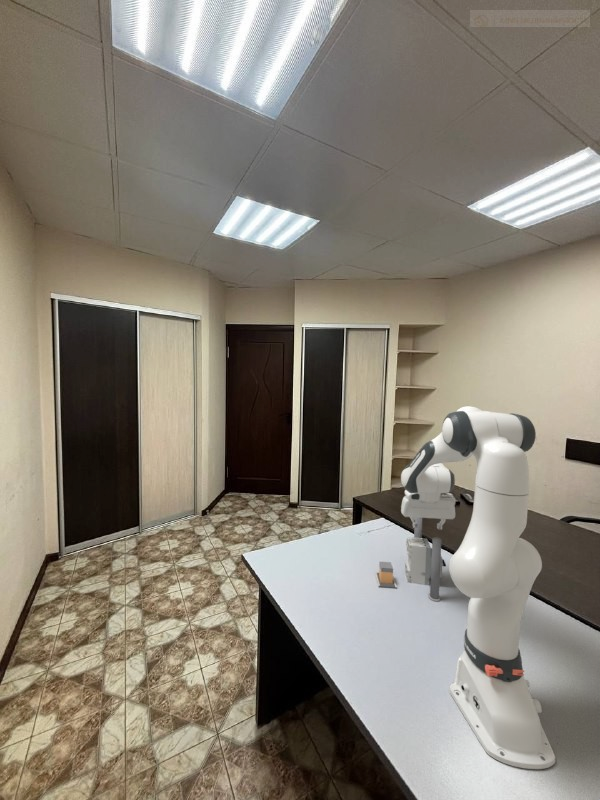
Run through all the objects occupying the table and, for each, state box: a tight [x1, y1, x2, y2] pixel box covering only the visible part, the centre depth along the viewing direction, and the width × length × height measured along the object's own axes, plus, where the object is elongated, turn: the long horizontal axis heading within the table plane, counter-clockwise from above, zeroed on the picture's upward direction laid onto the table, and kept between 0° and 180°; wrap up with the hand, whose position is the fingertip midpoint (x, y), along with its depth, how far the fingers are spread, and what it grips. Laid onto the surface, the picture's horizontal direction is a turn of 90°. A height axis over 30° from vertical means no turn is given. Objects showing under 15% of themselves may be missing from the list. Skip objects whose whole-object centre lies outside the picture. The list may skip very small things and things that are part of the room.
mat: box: [374, 572, 398, 590], centre depth 128 cm, size 9×7×1 cm
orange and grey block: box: [378, 561, 394, 584], centre depth 127 cm, size 4×4×6 cm
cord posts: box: [413, 517, 442, 603], centre depth 129 cm, size 27×4×22 cm, turn 175°
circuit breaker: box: [404, 536, 447, 586], centre depth 129 cm, size 8×14×15 cm, turn 78°
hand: (427, 528), depth 128 cm, fingers open, 8 cm apart
